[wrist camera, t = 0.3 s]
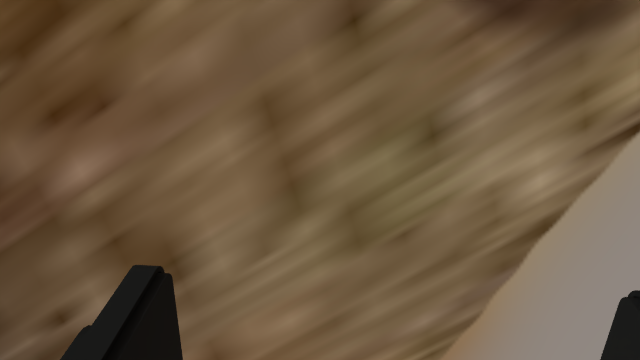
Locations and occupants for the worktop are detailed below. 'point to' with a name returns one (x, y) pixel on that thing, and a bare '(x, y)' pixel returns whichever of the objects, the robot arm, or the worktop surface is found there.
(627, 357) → the robot arm
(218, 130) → the worktop surface
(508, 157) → the worktop surface
